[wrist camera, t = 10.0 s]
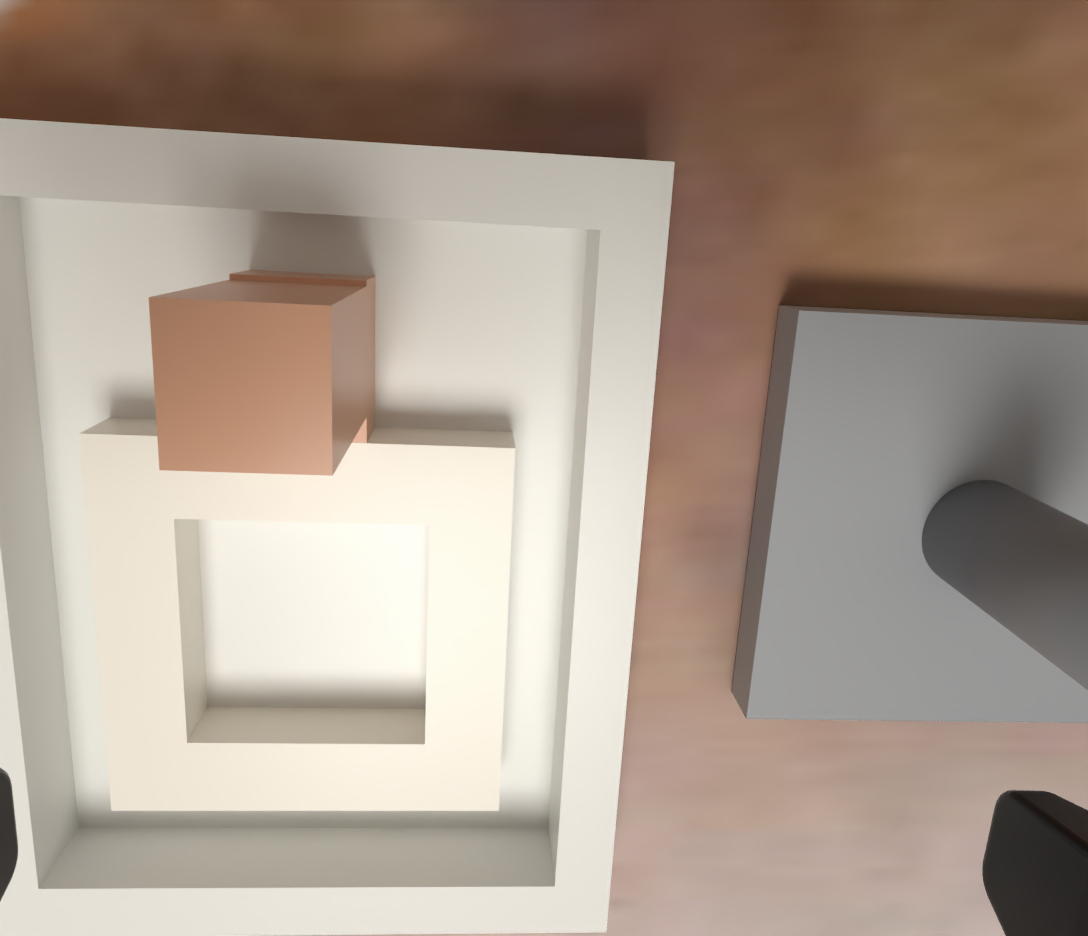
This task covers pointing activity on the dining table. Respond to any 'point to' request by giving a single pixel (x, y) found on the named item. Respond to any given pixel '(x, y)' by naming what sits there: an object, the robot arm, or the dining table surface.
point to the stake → (919, 521)
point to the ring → (288, 496)
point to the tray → (330, 548)
